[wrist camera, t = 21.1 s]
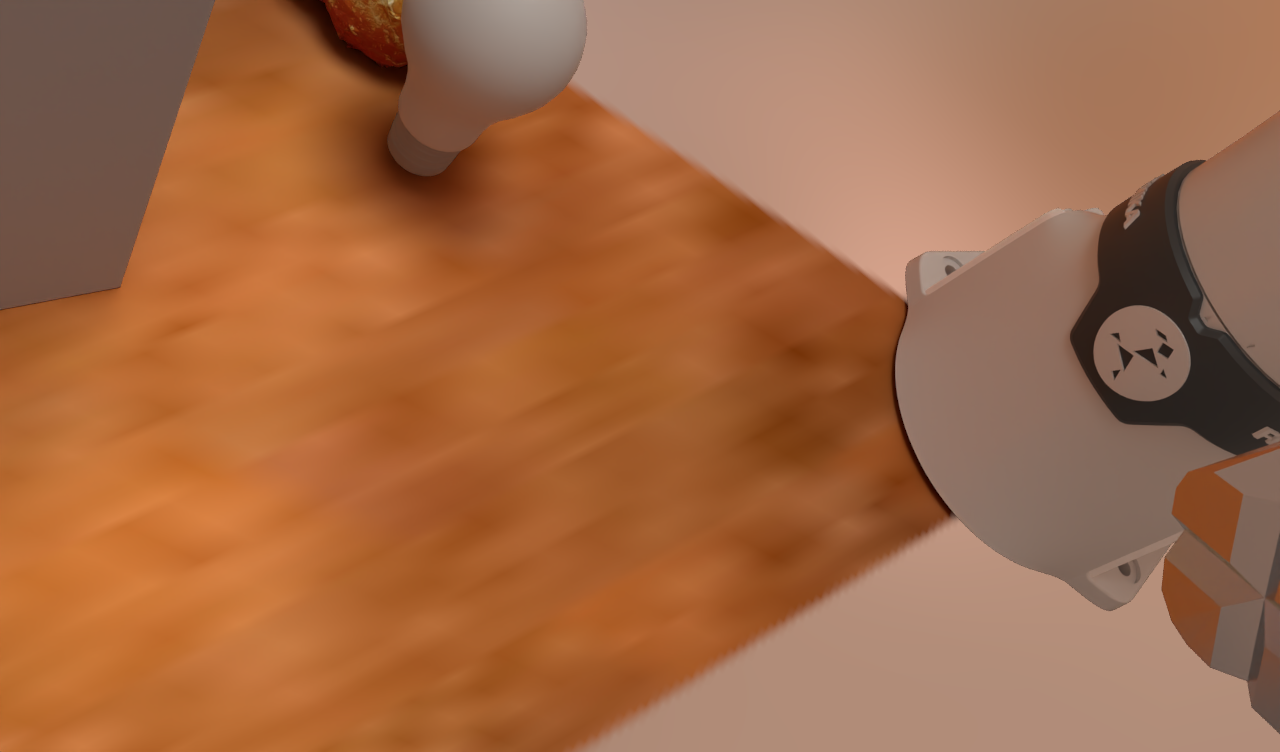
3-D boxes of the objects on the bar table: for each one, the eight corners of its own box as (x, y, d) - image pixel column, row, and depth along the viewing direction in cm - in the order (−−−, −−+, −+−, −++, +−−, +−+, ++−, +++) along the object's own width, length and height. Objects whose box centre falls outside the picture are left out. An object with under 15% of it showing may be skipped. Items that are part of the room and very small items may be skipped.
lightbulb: (436, 258, 44) (569, 73, 35) (300, 153, 43) (404, -63, 34) (511, 166, 47) (647, -20, 39) (388, 68, 46) (501, -144, 38)
